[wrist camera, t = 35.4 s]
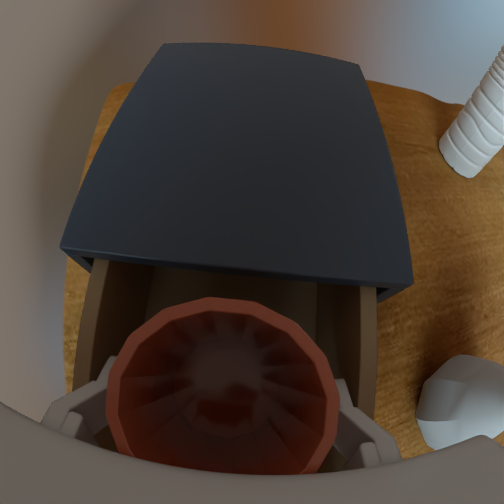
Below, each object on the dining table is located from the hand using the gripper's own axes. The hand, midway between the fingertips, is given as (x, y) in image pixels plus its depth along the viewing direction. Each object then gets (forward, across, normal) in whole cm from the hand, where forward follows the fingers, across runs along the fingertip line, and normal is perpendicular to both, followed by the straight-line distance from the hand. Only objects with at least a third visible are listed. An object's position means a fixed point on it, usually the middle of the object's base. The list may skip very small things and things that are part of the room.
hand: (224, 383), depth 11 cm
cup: (+3, 0, +4) cm, 5 cm away
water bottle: (+22, -26, -11) cm, 36 cm away
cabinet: (+14, 0, -4) cm, 14 cm away
